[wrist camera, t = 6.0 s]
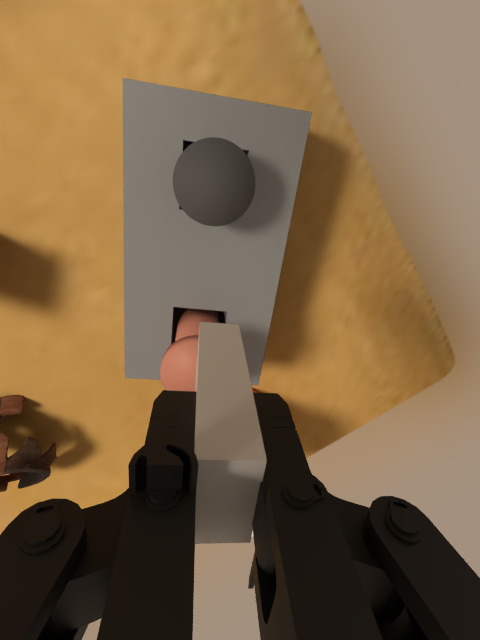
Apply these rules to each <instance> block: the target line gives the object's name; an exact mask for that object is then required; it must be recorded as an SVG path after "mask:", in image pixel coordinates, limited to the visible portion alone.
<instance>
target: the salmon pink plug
mask: <svg viewBox="0 0 480 640" xmlns="http://www.w3.org/2000/svg"><path fill="white" fill-rule="evenodd" d="M200 322H210V323H219V320H218V314H217V311H215V310H203V309H192V308H182V310H181V311H180V314H179V319H178V326H177V332H176V339H175V342H174V343H173V344H171V345H170V346H169V347H168V349H167V350H166V351H165V353H164V355H163V358H162V363H161V368H160V378H161V382H162V384H163V386H164V388H165V389H166V390H168V391H194V392H195V379H196V366H197V353H198V339H199V326H200Z"/></svg>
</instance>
